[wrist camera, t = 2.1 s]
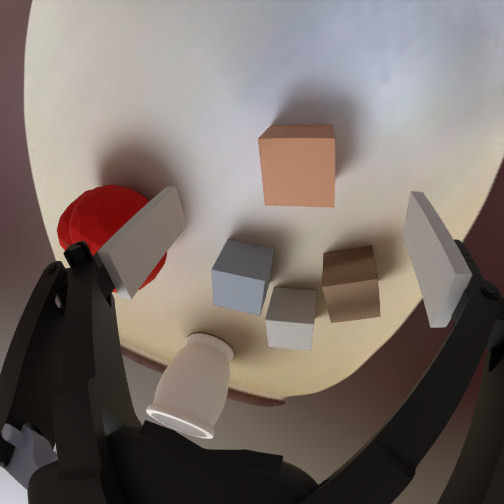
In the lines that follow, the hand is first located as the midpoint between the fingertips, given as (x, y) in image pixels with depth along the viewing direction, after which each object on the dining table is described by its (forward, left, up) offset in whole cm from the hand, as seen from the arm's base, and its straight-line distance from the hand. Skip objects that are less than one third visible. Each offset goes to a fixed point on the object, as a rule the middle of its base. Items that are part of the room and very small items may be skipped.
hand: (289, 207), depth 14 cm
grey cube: (+18, -1, -9) cm, 20 cm away
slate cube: (+12, -6, -9) cm, 16 cm away
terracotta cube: (0, 0, -9) cm, 10 cm away
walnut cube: (+12, +5, -9) cm, 16 cm away
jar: (+31, -15, -10) cm, 35 cm away
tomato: (+6, -19, -10) cm, 22 cm away
